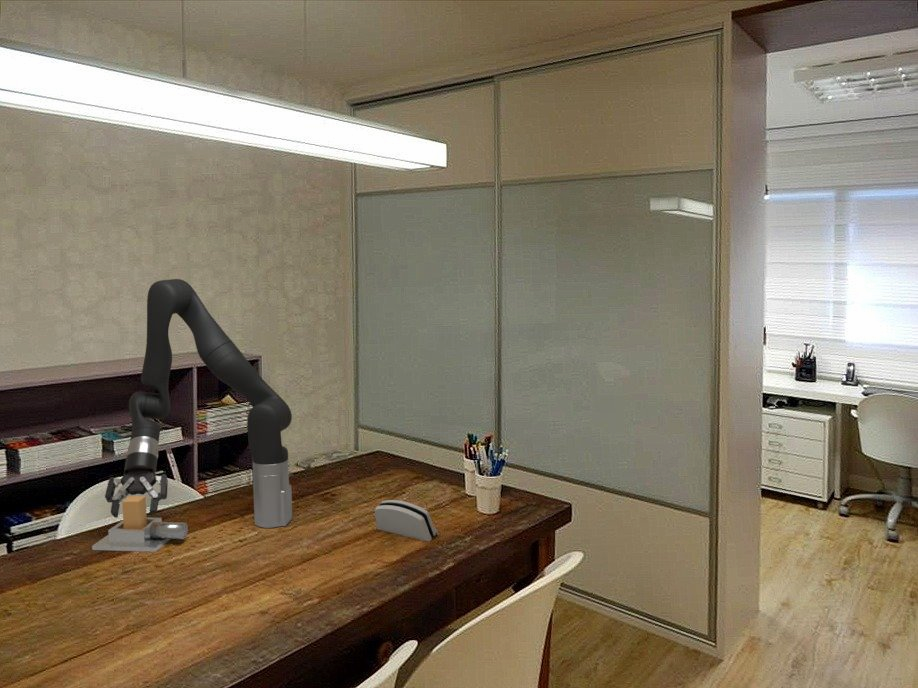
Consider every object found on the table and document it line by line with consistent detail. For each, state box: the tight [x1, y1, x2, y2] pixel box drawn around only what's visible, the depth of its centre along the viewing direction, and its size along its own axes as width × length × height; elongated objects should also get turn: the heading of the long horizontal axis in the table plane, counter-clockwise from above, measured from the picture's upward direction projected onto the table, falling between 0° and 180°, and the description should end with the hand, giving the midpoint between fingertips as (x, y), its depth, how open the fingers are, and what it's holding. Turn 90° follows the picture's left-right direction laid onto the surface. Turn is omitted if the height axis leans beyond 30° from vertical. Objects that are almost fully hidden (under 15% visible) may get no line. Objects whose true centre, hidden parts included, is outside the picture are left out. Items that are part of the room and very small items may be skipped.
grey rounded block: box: [374, 499, 439, 542], centre depth 184 cm, size 17×5×10 cm, turn 60°
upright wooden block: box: [121, 495, 147, 529], centre depth 179 cm, size 4×4×11 cm
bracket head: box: [91, 516, 189, 553], centre depth 179 cm, size 20×12×5 cm, turn 86°
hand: (133, 515), depth 177 cm, fingers open, 8 cm apart
